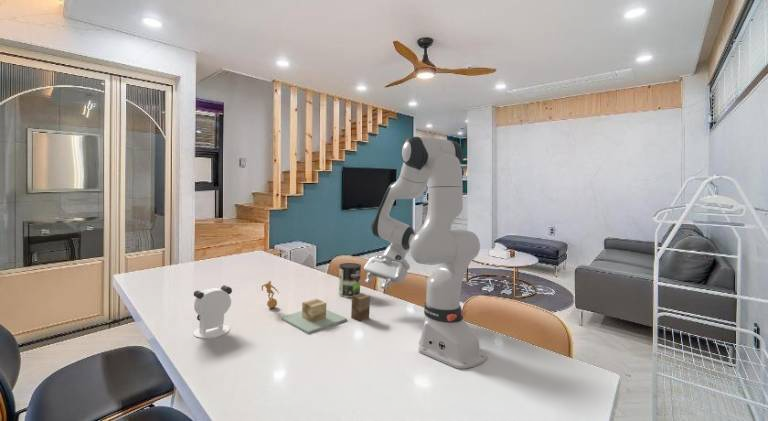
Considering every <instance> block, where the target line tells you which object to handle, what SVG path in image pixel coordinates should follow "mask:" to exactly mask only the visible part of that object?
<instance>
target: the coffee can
mask: <svg viewBox="0 0 768 421" xmlns="http://www.w3.org/2000/svg"><path fill="white" fill-rule="evenodd" d="M361 268H362V264H360V263H355V262H346V263H340V264H339V274H338V279H339V280H338V281H339V282H338V295H339V297H343V298H351V299H352V296H353V295H357V294H361V275H362V274H361V270H362V269H361Z"/></svg>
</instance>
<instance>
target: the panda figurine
mask: <svg viewBox="0 0 768 421" xmlns="http://www.w3.org/2000/svg"><path fill="white" fill-rule="evenodd" d="M232 292H233V290H232V287H230V286H228V285H222V286H221V287H220V288H219V287H218V288H217V287H213V288H208V289H204V290H201V291H200V290H195V291H194V292H193V296H194V297H196V298H195V300H194V302H193V303H194V304H193V307H194V308H193V309H194V311H195V313H196V314H197V316H196V319H197V320H198V322H199V327H198V328H196V329H195V330H194V331H193V336H194V337H196V338H197V339H203V340H205V339H214V338H219V337H222V336H225V335H226V334H228V333H229V332H230V331H231V328H230V325H227V324H224V321H225V320H224V319H225V314H226V313H227V312H228V311H229V309H230V307H231V305H232V299H231V296H230V295H231V294H232Z"/></svg>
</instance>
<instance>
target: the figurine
mask: <svg viewBox="0 0 768 421" xmlns="http://www.w3.org/2000/svg"><path fill="white" fill-rule="evenodd" d="M264 287H265V289H266V293H267V294H268V295H267V296H268V300H267V302H266V303H267V304H266V305H267V307H268V308H269V309H274V308H276V307H277V305H278V301H277V299H275V298H273V297H274V295H275V292H274V291H273V289H274V290H275V291H276V292H277V294H280V292H279V291H278V289H277V288H276V287H275V286H273V285H272V281H271V280H268V282H266V283H263V284H262V285H261V291H264ZM270 296H271V297H270Z"/></svg>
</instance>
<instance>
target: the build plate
mask: <svg viewBox="0 0 768 421" xmlns="http://www.w3.org/2000/svg"><path fill="white" fill-rule="evenodd" d="M280 319H281V320H282V322H283V321H284V322H286V323H287V324H289V325H290V326H293V327H294V328H296V329H298V330H300V331H302V332H304V333H306V334H307V335H308V334H312V333H314V332H317V331H321V330H324V329H327V328H329V327H332V326H336V325H339V324H341V323H343V322H347V321H348V318H346V316H345V317H344V316H342V315H339V314H338V313H336V312H333V311H331V310H329V309H326V318H325V319H322V320H318V321H315V322H310V321H308V320H306V319H304V318H302V310H301V311H297V312H293V313H291V314H287V315H283V316H280Z"/></svg>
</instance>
